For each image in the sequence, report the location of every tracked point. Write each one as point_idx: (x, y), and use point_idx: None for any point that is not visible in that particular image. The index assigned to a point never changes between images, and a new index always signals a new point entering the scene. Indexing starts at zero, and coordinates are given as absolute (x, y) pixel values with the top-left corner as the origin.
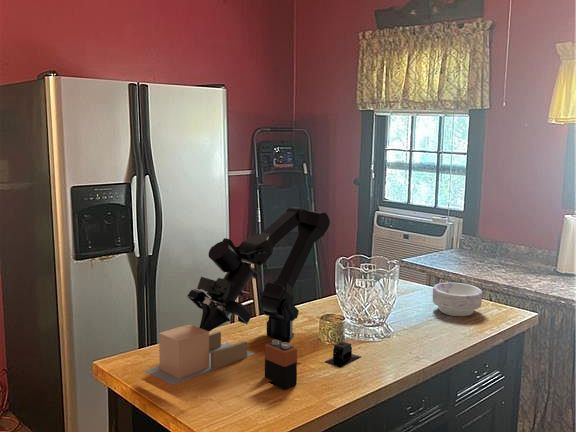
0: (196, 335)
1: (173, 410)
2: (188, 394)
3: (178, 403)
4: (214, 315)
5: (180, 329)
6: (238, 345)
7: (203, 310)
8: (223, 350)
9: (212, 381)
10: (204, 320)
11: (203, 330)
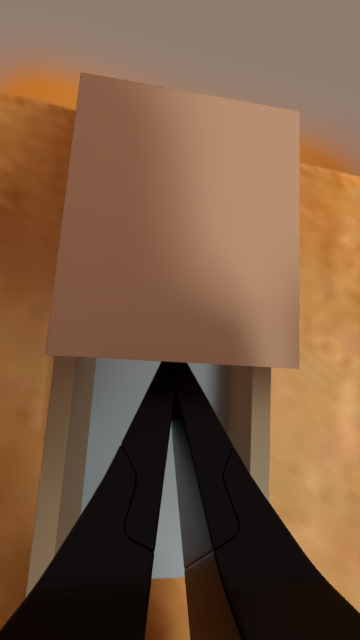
0: (61, 227)
1: (2, 104)
2: (43, 194)
3: (23, 139)
4: (37, 587)
5: (253, 244)
6: (36, 522)
7: (317, 594)
8: (48, 411)
9: (49, 302)
10: (189, 453)
11: (98, 339)
